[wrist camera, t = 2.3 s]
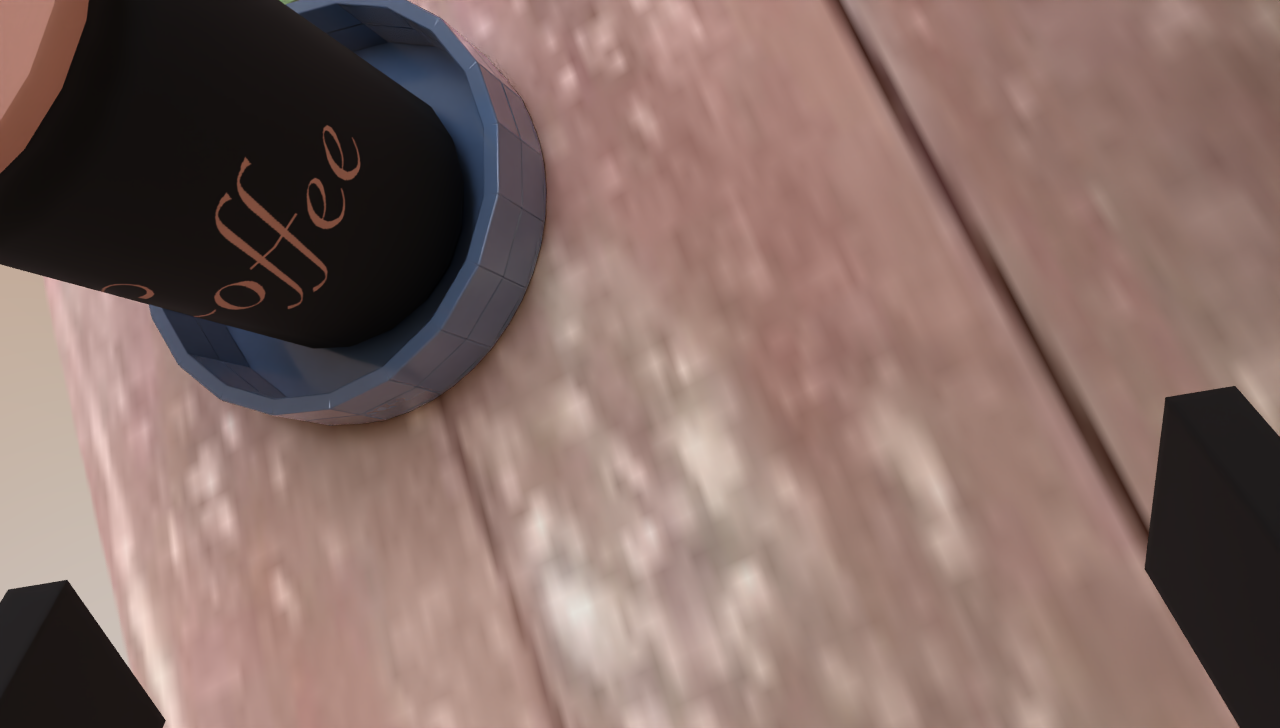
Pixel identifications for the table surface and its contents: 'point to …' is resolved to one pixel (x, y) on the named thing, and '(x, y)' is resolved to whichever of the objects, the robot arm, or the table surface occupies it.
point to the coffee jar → (221, 166)
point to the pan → (480, 268)
